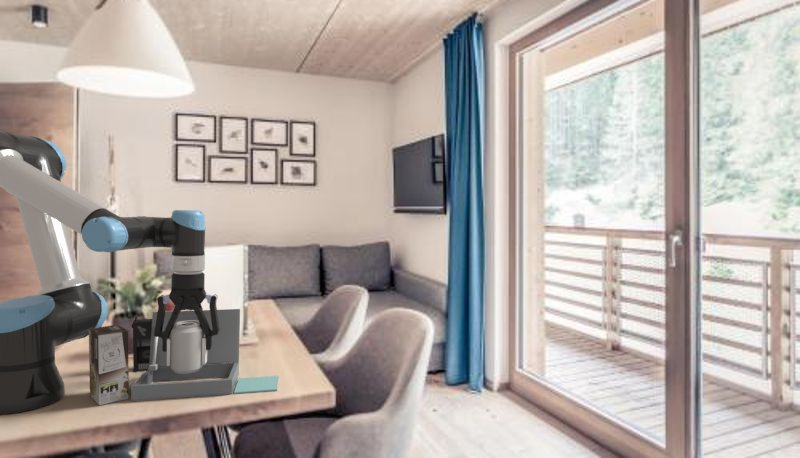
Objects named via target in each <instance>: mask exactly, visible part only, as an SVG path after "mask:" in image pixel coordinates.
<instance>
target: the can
mask: <svg viewBox="0 0 800 458" xmlns="http://www.w3.org/2000/svg"><path fill="white" fill-rule="evenodd" d="M203 337H204V332H203V329H202V327H201V325H200V322H199V321H196V320H187V321H180V322H176V323H175V324H174V327H173V329H172V330H171V370H173V371H174V372H175V373H178V374H188V373H194V372H197V371H198V370H200V368H202V367H203V364H202V338H203Z"/></svg>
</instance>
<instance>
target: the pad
mask: <svg viewBox="0 0 800 458" xmlns="http://www.w3.org/2000/svg"><path fill="white" fill-rule="evenodd" d="M278 384H279V375H268V376H254V377H253V376H251V377H238V379H237V382H236V384H235V387H234V390H233V394H234V395H235V394H237V395H239V394H251V393H265V392H266V393H268V392H276V391H278V387H279V386H278Z"/></svg>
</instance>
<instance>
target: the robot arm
mask: <svg viewBox="0 0 800 458" xmlns="http://www.w3.org/2000/svg"><path fill="white" fill-rule="evenodd" d="M66 170H67V159H66V157H65V155H64V152H63V151H62V150H61V148H59V146H57V144H56V143H53V142H52V141H49V140H47V139H42V138H40V137H37V136H33V135H32V136H30V135H29V136H27V135H22V134H16V133H12V132H11V133H10V132H6V131H3V130H2V131H1V130H0V188H2V189H3V190H5V191H6V193H8V194H10V195H12V196H14V197H15V198H16V202H17V206H18V209H19V213H20V217H21V220H22V224H23V227H24V231H25V234H26V237H27V240H28V241H27V242H28V245H29V248H30V251H31V256H32V259H33V263H34V266H35V269H36V273H37V276H38V280H39V284H40V289H39V291H38V292H37V293H36V294H35V295H26V296H23V297H15V298H12V299H11V298H10V299H8V300H5V301H3V302H0V415H7V414H15V413H21V412H27V411H31V410H35V409H36V410H37V409H39V408H43V407H45V406H48V405H51V404H53V403H56V402H57V401H59V400H61V399H62V398H63V397H64V396H65V393H66V391H65V382H64V381H63V379H62V376H61V373H60V371H59V369H58V366H57V365H56V348H55V347H57V346H61V345H64V344H67V343H69V342H70V343H71V342H72V341H76V340H80V339H84V338H86V337H89V329H94V328H99V327H103V325H104V323H105V322H106V320H107V317H108V304H107V301H106V299H105V298H104V297H103V295H101V294H100V293H98V292H97V291H94V290H93V289H92V286H91V283H90V282H89V281H88V280H86V279H83V278H82V276H81V273H80V269H79V265H78V262H77V258H76V256H75V251H74V247H73V244H72V240H71V237H70V234H69V230H68V228H70V229H71V230H73V231H74V232H76V233H78V234H79V235H81V238H82V242H84V244H85V245H86V246H85V247H87V248H88V249H89V250H91V251H93V252H97V253H102V252H103V253H113V252H118V251H119V252H120V251H127V250H136V249H137V250H138V249H145V248H167V249H168V248H170V249H171V271H172V272H173V273H172V274H171V275H170V276H171V280H170V281H171V284H170V285H171V289H170V292H169V293H168V294H165V295H164V294H161V295H159V296H158V297H157V298H156V303H157V306H158V307H157V312H158V313H157V319H156V325H155V332H154V336H155V337H161V338H162V340H163V343H162V350H163V352H167V366H170V365H171V337H169V336H170V333H171V330H172V329H173V326H174V324H175V322H176V320H177V317H178V315H179V313H180V311H194V312H195V314H196V315H197V317H198V320H199V322H200V325H201V327H202V329H203V332H204V334H205V336H204V337H203V338H202V364H206V362H207V350H210V349H211V347H212V336H214V335H217V334H218V333H219V331H220V329H219V322H218V314H217V310H218V308H217V301H218V296H219V295H217V294H210V293H209V294H208V293H207V292H206V290H205V273H204V271H205V269H206V268H205V267H206V266H205V264H206V261H205V260H206V255H205V249H206V242H205V241H206V240H205V239H206V218H205V213H204V211H202V210H197V209H196V210H195V209H193V210H192V209H191V210H190V209H189V210H187V209H175V210H173V211H172V212H171V216H170V217H160V216H159V217H158V216H145V215H143V216H140V215H138V216H128V217H127V216H126V217H125V216H119V215H117V214H116V213H114V212H112V211H110V210H108V209H107V208H105V207H103V206H102V205H101V204H99V203H97V202H95V201H93V200H91V199H90V198H89V197H86V196H85V195H83V194H82V193H80V192H78V191H77V190H75V189H73V188H72V187H69V186H68V185H66V184H64V182H62V180H61V179H62V178H63V177H64V175H65V171H66ZM169 300H170V301H171V302H172V304H174V307H173V309H172V311H173V312H172V315H171V317H170V319H169V322H168V324H167V326H166V329H165V331H162V330H163V323H164V317H165V312H167V311H166V310H167V304H168V303H169ZM204 300H206V302H207V304H209V305H208V306H209V310H210V315H211V322H212V329H213V330H211V329H210V326H209V324H208V322H207V319H206V317H205V314H204V312H203V310H204V308H203V306H202V303H203V301H204Z"/></svg>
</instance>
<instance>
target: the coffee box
mask: <svg viewBox="0 0 800 458" xmlns="http://www.w3.org/2000/svg"><path fill="white" fill-rule="evenodd" d="M88 357H89V360H88V362H89V394H90V397H91V399H93V400H94V401H95V402H96V404H98V406H102V405H107V404H111V403H116V402H120V401H125V400H129V398H130V397H129V396H130V395H129V394H130V393H129V392H130V391H129V390H130V389H129V388H130V387H129V385H130V384H129V383H130V380H129V379H130V378H129V376H130V375H129V330H128V329H126V328H124V327H123V326H120V325H119V324H111V325H106V326H102V327H99V328H94V329H89V335H88Z"/></svg>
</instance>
